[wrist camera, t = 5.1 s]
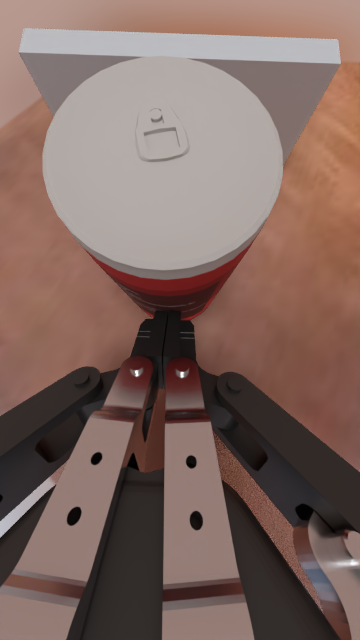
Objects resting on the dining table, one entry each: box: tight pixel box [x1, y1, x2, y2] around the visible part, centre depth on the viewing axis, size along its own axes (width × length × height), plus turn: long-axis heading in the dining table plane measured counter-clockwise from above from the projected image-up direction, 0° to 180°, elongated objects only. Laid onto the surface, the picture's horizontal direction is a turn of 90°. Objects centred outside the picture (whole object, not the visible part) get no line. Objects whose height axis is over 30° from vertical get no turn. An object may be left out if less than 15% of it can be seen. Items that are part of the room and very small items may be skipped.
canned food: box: [43, 56, 283, 320], centre depth 11 cm, size 8×8×11 cm
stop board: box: [19, 28, 341, 165], centre depth 15 cm, size 20×7×7 cm, turn 88°
